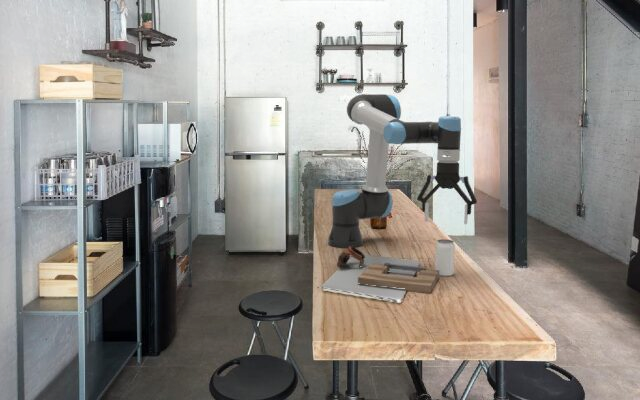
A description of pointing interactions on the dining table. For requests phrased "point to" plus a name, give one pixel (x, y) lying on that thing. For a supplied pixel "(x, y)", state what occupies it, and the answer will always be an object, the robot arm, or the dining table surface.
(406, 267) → the cross rail
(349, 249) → the pottery mug
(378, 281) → the wooden frame board
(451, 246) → the can
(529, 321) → the dining table surface
